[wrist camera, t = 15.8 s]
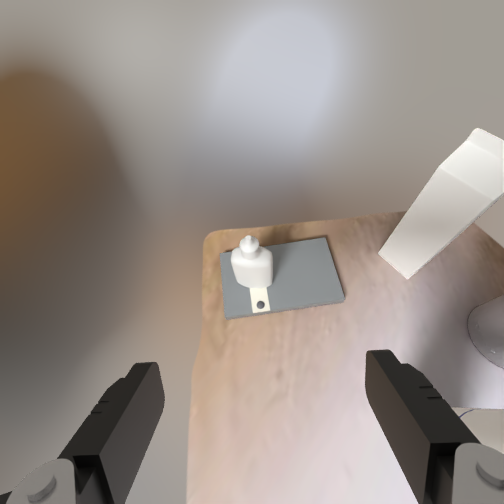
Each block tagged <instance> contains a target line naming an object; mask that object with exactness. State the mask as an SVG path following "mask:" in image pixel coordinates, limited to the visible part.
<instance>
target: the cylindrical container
mask: <svg viewBox="0 0 504 504" xmlns="http://www.w3.org/2000/svg"><path fill="white" fill-rule="evenodd" d="M451 408H452V409H453V410H454V412H455V413H456V414H457V415H458V416H459V418H460V419H461V420H462V421H463V422H464V423H465V425H466V426H467V427H468V428H469V429H470V431H471V432H472V433H473V434H474V435H475V437H476V438H477V439H478V440H479V441H480V442H481V444H482V445H486V446H488V447H491V448H493V449H495V450H498V451H499V452H501V453H503V454H504V409H481V408H456V407H451Z"/></svg>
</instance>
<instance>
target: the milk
mask: <svg viewBox="0 0 504 504" xmlns="http://www.w3.org/2000/svg"><path fill="white" fill-rule="evenodd" d="M503 195H504V140H503V139H501V138H499V137H497V136H495V135H493V134H491V133H489V132H487V131H485V130H483V129H481V128H476V129H474V130H473V131H472V133H471V134H470V135H469V137H468V138H467V140H466V141H465V142H464V143H463V144H462V145H461V146H459V147H458V149H456V150H455V151H454V152H453V153H452V154H451V155H450V156H449V157H448V158H447V159H446V160H445V161H444V162H443V163H442V164H440V165H439V167H438V168H437V169H436V171H435V172H434V174H433V175H432V177H431V178H430V179H429V181H428V182H427V184H426V185H425V187H424V188H423V189H422V191H421V193H420V194H419V195H418V197H417V198H416V200H415V201H414V202H413V204H412V205H411V207H410V208H409V209H408V211H407V212H406V214H405V215H404V217H403V218H402V219H401V221H400V222H399V224H398V225H397V227H396V228H395V229H394V231H393V232H392V234H391V235H390V237H389V238H388V239H387V241H386V242H385V244H384V245H383V247H382V248H381V250H380V251H379V252H378V254H379V255H380V256H381V257H382V258H383V259H384V260H385V261H387V262H388V263H389V264H390V265H391V266H392V267H393V268H395V269H396V270H397V271H398V272H399V273H400V274H401V275H403V276H404V277H405V278H406V279H409V278H410V277H411V276H413V275H414V274H415V273H416V272H417V271H419V270H420V269H421V268H422V267H423V266H425V265H426V264H427V263H428V262H430V261H431V260H432V259H433V258H434V257H435V256H436V255H438V254H439V253H440V252H441V251H442V250H443V249H444V248H445V247H446V246H448V245H449V244H450V243H451V242H452V241H453V240H454V239H455V238H457V237H458V236H459V235H460V234H461V233H462V232H463V231H464V230H465V229H467V228H468V227H469V226H470V225H471V224H472V223H473V222H474V221H475V220H477V219H478V217H480V216H481V215H482V214H483V213H484V212H485V211H487V210H488V209H489V208H490V207H491V206H492V205H493V204H494V203H495V202H497V201H498V200H499V199H500V198H501V197H502V196H503Z"/></svg>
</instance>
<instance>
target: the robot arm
mask: <svg viewBox="0 0 504 504" xmlns="http://www.w3.org/2000/svg"><path fill="white" fill-rule="evenodd" d="M468 331H469V334H470V337H471V339H472V341H473V343H474V344H475V346H476V348H477V349H478V350H479V351H480V352H481V353H482V354H483V355H484V356H485V357H486V358H487V359H488V360H490V361H491V362H492V363H494V364H496V365H497V366H499V367H501V368H504V295H502V296H499V297H497V298H495V299H493V300H491V301H488V302H486V303H484V304H482V305H480V306H478V307H476V308H475V309H474V310H473V311H472V312H471V314H470V315H469V319H468ZM365 389H366V394H367V398H368V401H369V404H370V406H371V408H372V410H373V412H374V414H375V416H376V418H377V420H378V422H379V424H380V426H381V428H382V430H383V432H384V434H385V436H386V438H387V440H388V442H389V444H390V446H391V448H392V450H393V453H394V455H395V457H396V459H397V461H398V463H399V465H400V467H401V469H402V471H403V473H404V475H405V477H406V479H407V481H408V483H409V485H410V487H411V489H412V491H413V493H414V495H415V497H416V499H417V501H418V503H419V504H504V454H503V453H501V452H499V451H498V450H495V449H493V448H491V447H488V446H486V445H482V444H481V442H480V441H479V440H478V439H477V438H476V437H475V435H474V434H473V433H472V432H471V431H470V429H469V428H468V427H467V426H466V425H465V423H464V422H463V421H462V420H461V419H460V418H459V416H458V415H457V414H456V413H455V412H454V410H453V409H452V408H451V407H450V406H449V404H448V403H447V402H446V401H445V400H444V399H442V396H441V395H440V394H439V393H438V391H437V390H436V389H435V388H433V385H432V384H431V383H430V382H429V381H428V379H427V378H426V377H425V376H424V375H423V373H421V372H420V371H418V370H417V369H415V368H414V367H412V366H411V365H409V364H408V363H407V364H401V363H400V362H399V361H398V359H397V358H396V357H395V355H394V354H393V353H392V352H391V351H390V350H370V351H367V353H366V373H365ZM164 398H165V396H164V390H163V385H162V381H161V376H160V371H159V367H158V364H157V363H156V362H145V363H136V364H134V365H133V367H132V368H131V370H130V371H129V373H128V374H127V376H126V377H125V378H120V379H119V380H118V381H116V382H115V383H114V384H113V385H112V386H110V387H109V388H108V389H107V390H106V392H105V393H104V394H103V396H102V397H101V399H100V400H99V401H98V404H96V405H95V407H94V408H93V410H92V411H91V414H90V415H88V417H87V418H86V419H85V421H84V422H83V423H82V425H81V426H80V428H79V429H78V430H77V432H76V433H75V435H74V436H73V437H72V439H71V440H70V441H69V443H68V444H67V446H66V447H65V449H64V450H63V451H62V453H61V454H60V455H59V457H58V458H57V459H56V460H52V461H49V462H47V463H45V464H43V465H41V466H39V467H38V468H36V469H35V470H33V471H32V472H31V473H29V474H28V475H27V476H26V477H25V478H24V479H23V480H22V481H21V482H20V483H19V484H18V485H17V486H16V488H15V489H14V490H13V491H11V492H8V493H6V494H3V495H0V504H125V501H126V499H127V496H128V494H129V491H130V489H131V487H132V484H133V482H134V479H135V477H136V475H137V472H138V470H139V467H140V465H141V462H142V460H143V458H144V455H145V453H146V450H147V448H148V446H149V443H150V441H151V438H152V436H153V433H154V431H155V429H156V426H157V424H158V422H159V419H160V416H161V414H162V412H163V408H164V401H165V399H164Z"/></svg>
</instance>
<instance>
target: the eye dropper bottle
mask: <svg viewBox="0 0 504 504" xmlns="http://www.w3.org/2000/svg"><path fill="white" fill-rule="evenodd" d="M231 264H232V267H233V271H234V274H235V277H236V280H237V282H238V283H239V284H241V285H243V286H245V287H248V288H256V289H258V288H265V287H269V286H270V285H272V281H273V256H272V252H271V251H269V250H268V249H266V248H264V247H261V246H259V241H258V240H257V238H255V237H253V236H249V235H248V236H246V237H244V238H243V239H242V240H241V242H240V247H237V248H235V249H234V250H233V251H232V255H231Z"/></svg>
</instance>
